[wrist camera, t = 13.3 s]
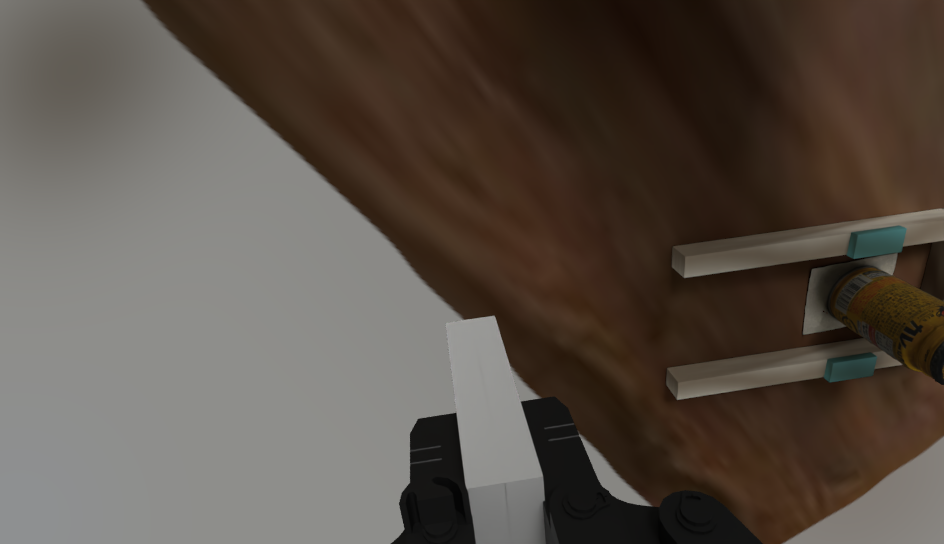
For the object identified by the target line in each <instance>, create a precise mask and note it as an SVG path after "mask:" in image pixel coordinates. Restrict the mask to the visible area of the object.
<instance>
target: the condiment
mask: <svg viewBox="0 0 944 544" xmlns="http://www.w3.org/2000/svg"><path fill="white" fill-rule="evenodd" d="M897 254H898V253H895V254H889V255H883V256H877V257H871V258H865V259H860V260H856V261H851V262H848V263H841V264H835V265H830V266H826V267H822V268H815V269H812V271H811V277H810V282H809V288H808V293H807V302H806V307H805V319H804V329H803V335H805V334H811V333H815V332H823V331H826V330H833V329H837V328H842V327H846V326H847V327H849V329H850V330H852V331H854V332H855V333H857V334H859V335H860V336H862V337H864V338H865V339H866V340H867V341H869V342H870V343H871V344H873V345H875V346H876V347H878V348H879V349H880V350H882V351H884V352H885V353H886V354H887V355H890V356H891V357H892V358H893V359H895V360H897V361H899V362H900V363H901V364H902V365H904V366H905V367H907V368H909V369H912V370H914V371H919V372H923V373H924V374H925V375H927V376H929V377H932V378H933V379H935V381H936V382H938V383H940V384H942V385H944V302H943V301H941V300H940V299H938V298H936V297H934V296H932V295H930V294H928V293H926V292H924V291H922V290H920V289H918V288H916V287H914V286H912V285H910V284H908V283H906V282H904V281H902V280H900V279H899V278H897V277H895V276H893V272H894V269H895V264H896V260H897ZM839 274H840V275H839ZM823 310H824V311H825V312H823ZM826 312H828V314H826Z"/></svg>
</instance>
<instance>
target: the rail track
mask: <svg viewBox="0 0 944 544" xmlns="http://www.w3.org/2000/svg"><path fill="white" fill-rule="evenodd" d="M930 242H932V246H931V250H930V254H929V258H928V262H927V266H926V269H925V273H924V277H923V281H922V285H921V289H920V290H922V291H924V292H926V293H928V294H930V295H932V296H934V297H936V298H938V299H940V300H941V301H943V302H944V208H942V209H934V210H927V211H920V212H913V213H906V214H899V215H892V216H885V217H878V218H871V219H863V220H856V221H849V222H842V223H835V224H828V225H821V226H814V227H807V228H800V229H793V230H785V231H778V232H771V233H764V234H757V235H750V236H743V237H736V238H729V239H722V240H714V241H707V242H700V243H693V244H686V245H679V246H673V247H672V268H674V269H675V270H676V271H677V272H678V273H679V274H680V275H681V276H682V277H684V278H688V277H695V276H702V275H708V274H715V273H722V272H729V271H736V270H743V269H750V268H757V267H764V266H771V265H778V264H785V263H792V262H799V261H806V260H813V259H819V258H826V257H833V256H840V255H847V256H849V257H851V258H853V259H857V258H864V257H871V256H878V255H884V254H891V253H898V252H902V248H903V246H910V245H917V244H923V243H930ZM897 365H902V364H901V363H900V362H899V361H897V360H895V359H893V358H892V357H891V356H890V355H887V354H886V353H885V352H884V351H882V350H880V349H879V348H878V347H876V346H875V345H873V344H871V343H870V342H869V341H867V340H866V339H865V338H860V339H854V340H847V341H841V342H834V343H828V344H821V345H814V346H808V347H801V348H795V349H788V350H782V351H775V352H769V353H762V354H756V355H749V356H742V357H736V358H729V359H723V360H716V361H710V362H703V363H697V364H690V365H684V366H677V367H671V368H667V377H666V385H667V387H668V388H669V389H670V391H671V392H672V393H673V395H674V396H675V397H676V399H677V400H680V399H686V398H692V397H699V396H705V395H712V394H718V393H724V392H731V391H737V390H744V389H750V388H756V387H763V386H769V385H776V384H782V383H788V382H795V381H801V380H808V379H814V378H820V377H824V378H825V379H826V380H827V381H828V382H836V381H843V380H849V379H855V378H862V377H868V376H873V373H874V369H878V368H884V367H891V366H897Z"/></svg>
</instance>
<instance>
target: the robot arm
mask: <svg viewBox="0 0 944 544" xmlns="http://www.w3.org/2000/svg"><path fill="white" fill-rule="evenodd" d="M445 324H446V332H447V340H448V348H449V356H450V364H451V373H452V381H453V389H454V397H455V405H456V413H453V414H446V415H440V416H433V417H427V418H421V419H418V420H417V422H416V424H415V426H414V428H413V429H412V431H411V433H410V484H409V485H408V486H407V487H406V488H405V490H404V491H403V492H402V495H401V499H400V502H399V505H400V510H401V515H402V519H403V524H404V528H405V530H404V531H403V533H402V534H401V535H400V536H399V537H398V538H397V539H396V540H395V541H394V542H392V543H391V544H763V543H762V542H761V541H760V540H759V539H758V538H757V537H756V536H754V535H753V534H752V533H751V532H750V531H749V530H748V529H747V528H746V527H745V526H744V525H743V524H742V523H741V522H740V521H739V520H738V519H737V518H736V517H735V516H734V515H733V514H732V513H731V512H730V511H729V510H728V509H727V508H726V507H725V506H724V505H723V504H721V503H720V502H719V501H717V500H716V499H714V498H713V497H711V496H708V495H706V494H703V493H701V492H695V491H686V490H685V491H680V492H675V493H672V494H670V495H669V496H667V497H666V498H664V499H663V501H662V503H661V505H660V507H651V506H641V505H635V504H630V503H626V502H624V501H621V500H619V499H616V498H615V497H614V496H612V495H611V494H610V493H609V491H608V490H606V489H605V488H603V487H602V486H601V484H600V482H599V481H598V479H597V476H596V474H595V471H594V469H593V467H592V464H591V462H590V460H589V457H588V455H587V453H586V450H585V448H584V445H583V443H582V441H581V438H580V437H579V434H578V431H577V429H576V426H575V425H574V422H573V419H572V417H571V415H570V412H569V410H568V408H567V407H566V406H565V405H564V404H563V403H561V402H560V401H559V400H558V399H557V398H556V397H548V398H541V399H535V400H528V401H522V402H521V401H520V398H519V395H518V392H517V388H516V385H515V381H514V378H513V375H512V372H511V368H510V365H509V362H508V358H507V355H506V352H505V348H504V345H503V342H502V338H501V335H500V332H499V328H498V325H497V322H496V319H495V316H489V317H483V318H476V319H469V320H462V321H455V322H448V323H445Z"/></svg>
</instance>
